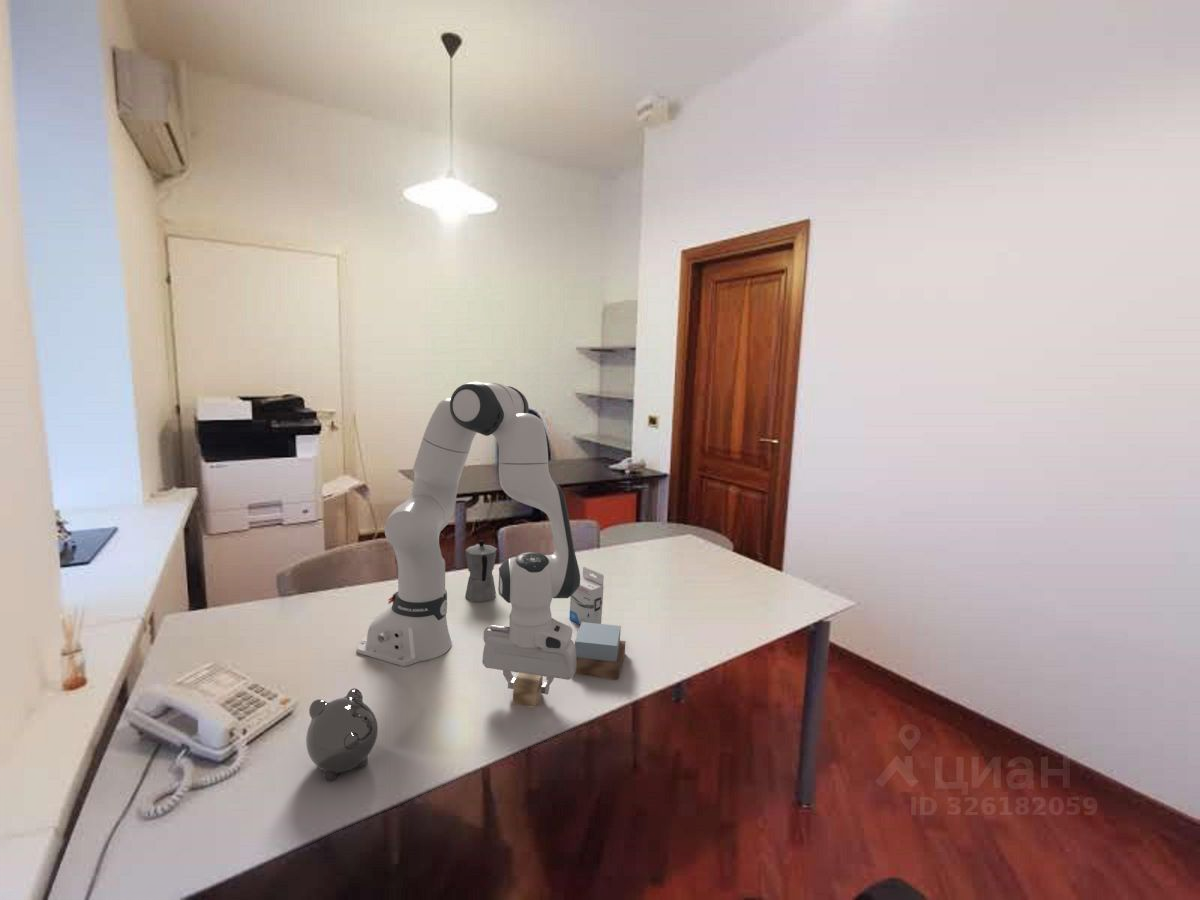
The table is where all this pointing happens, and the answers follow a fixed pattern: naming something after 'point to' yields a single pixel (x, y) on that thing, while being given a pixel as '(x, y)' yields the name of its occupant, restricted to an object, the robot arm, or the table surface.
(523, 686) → the oak block
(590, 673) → the tower base
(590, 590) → the ink box
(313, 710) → the piggy bank
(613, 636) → the tower top
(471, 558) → the coffeepot
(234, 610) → the table surface
